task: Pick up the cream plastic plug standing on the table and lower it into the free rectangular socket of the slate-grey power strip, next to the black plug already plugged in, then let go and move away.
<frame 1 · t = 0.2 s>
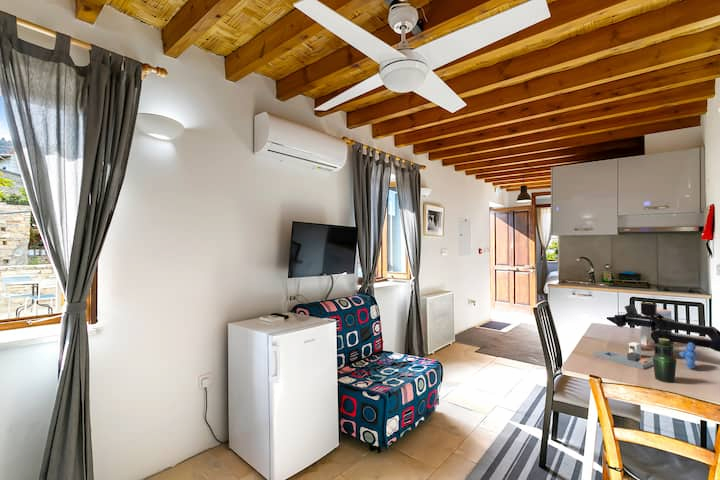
hand: (610, 317, 212), 16 cm above the table, tool horizontal, fingers open, 9 cm apart
power strip: (622, 360, 184), on the table
plug: (634, 356, 190), on the table
cracker box: (655, 346, 209), on the table
potion bottle: (664, 380, 159), on the table
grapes: (688, 367, 174), on the table
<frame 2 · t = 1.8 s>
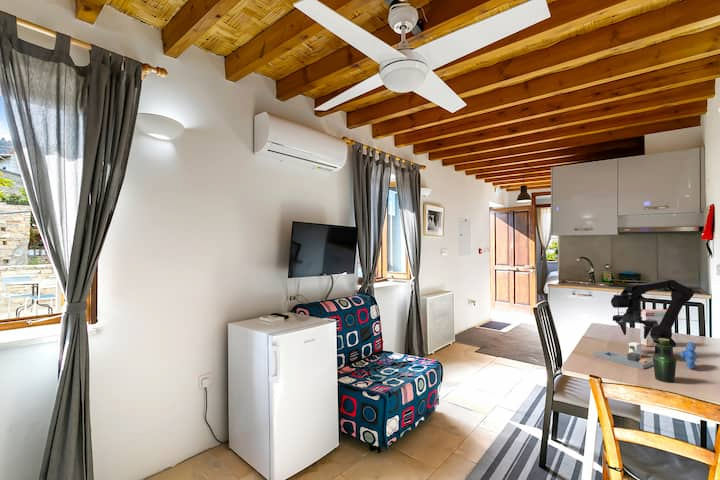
hand: (634, 336, 190), 10 cm above the table, tool pointing down, fingers open, 9 cm apart
nothing on the table moved.
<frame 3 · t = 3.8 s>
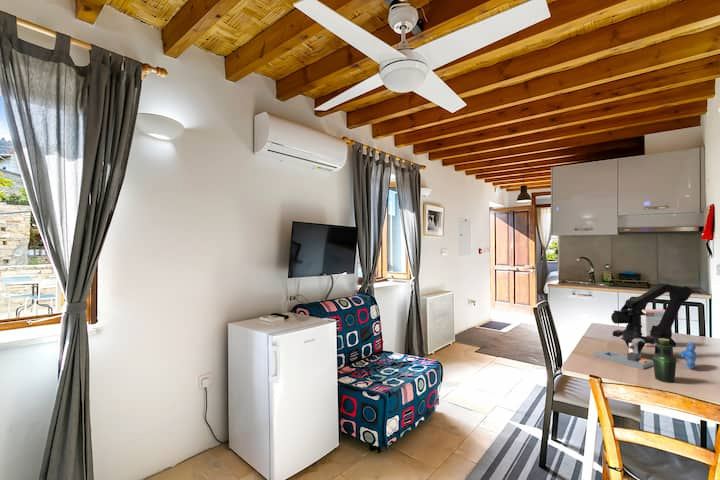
hand: (634, 352, 190), 2 cm above the table, tool pointing down, fingers closed on plug, 3 cm apart
plug: (634, 356, 190), on the table, touching gripper
everything else where it was.
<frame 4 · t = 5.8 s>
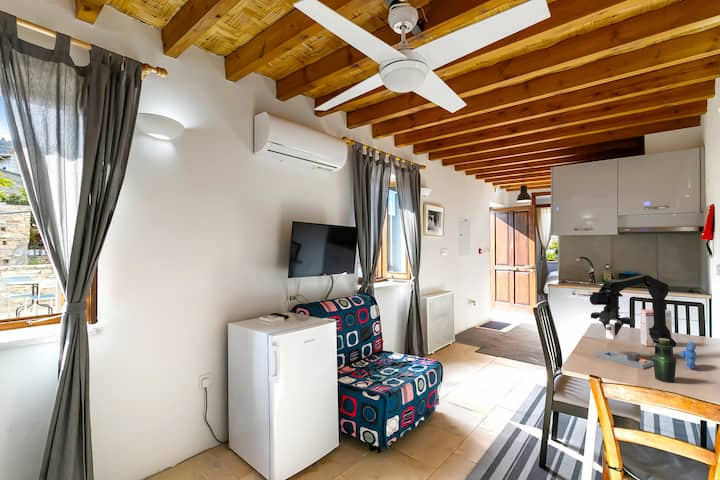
hand: (611, 334, 188), 12 cm above the table, tool pointing down, fingers closed on plug, 3 cm apart
plug: (611, 338, 188), point 10 cm above the table, touching gripper
everything else where it was.
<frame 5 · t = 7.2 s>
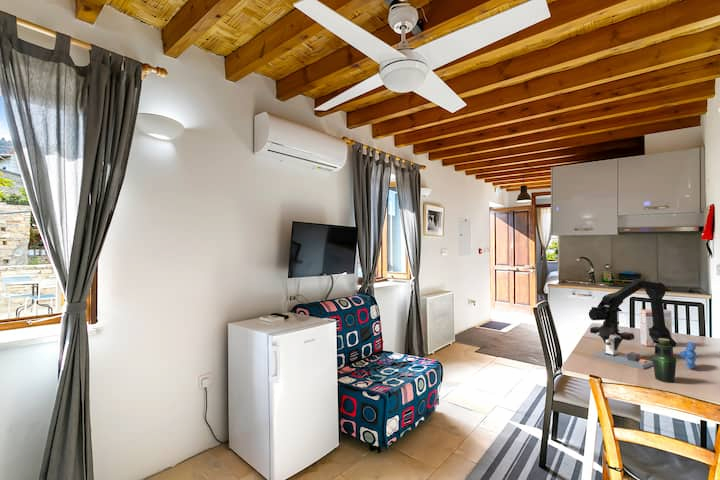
hand: (611, 349, 188), 5 cm above the table, tool pointing down, fingers closed on plug, 3 cm apart
plug: (611, 353, 188), point 3 cm above the table, touching gripper
everything else where it was.
when the fingers open (3 cm above the table, at t = 8.2 s): plug drops 1 cm, resting in power strip.
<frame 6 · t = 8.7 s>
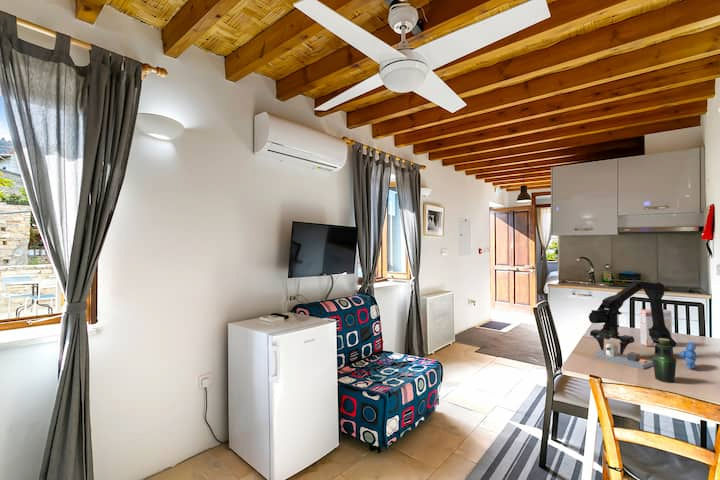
hand: (611, 352, 188), 3 cm above the table, tool pointing down, fingers open, 9 cm apart
plug: (611, 358, 188), resting in power strip
everything else where it was.
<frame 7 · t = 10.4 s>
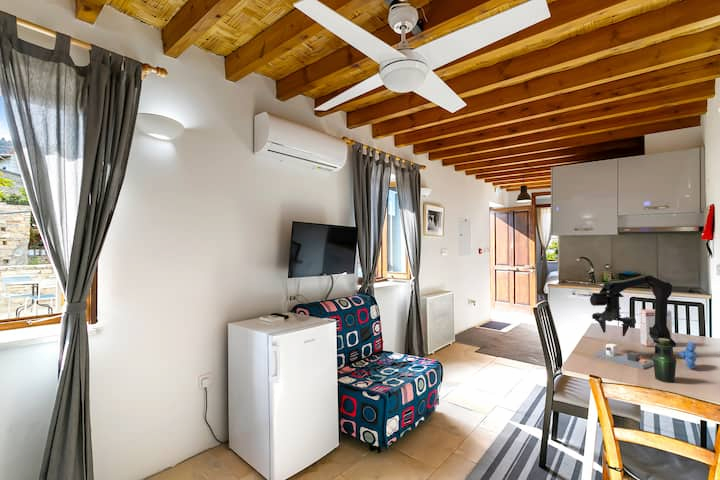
hand: (613, 334, 192), 12 cm above the table, tool pointing down, fingers open, 9 cm apart
nothing on the table moved.
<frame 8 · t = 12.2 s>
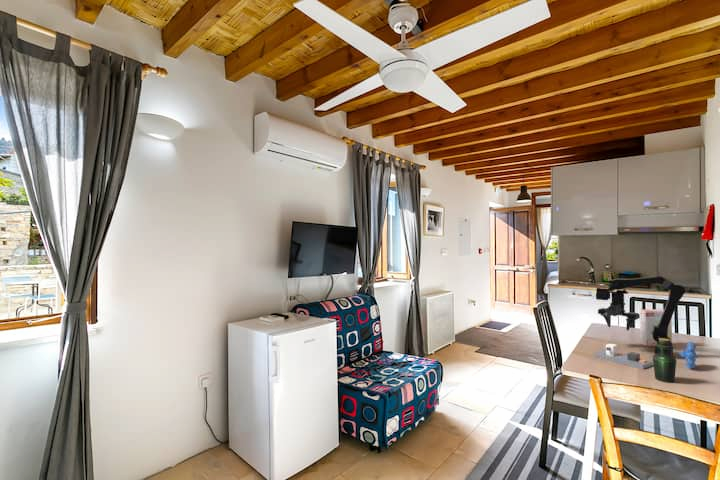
hand: (618, 328, 202), 12 cm above the table, tool pointing down, fingers open, 9 cm apart
nothing on the table moved.
at the end: plug 0.0 cm from the target spot on the power strip, point 0.0 cm above the power strip's base; plug tilted 0°; the gripper is holding nothing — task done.
